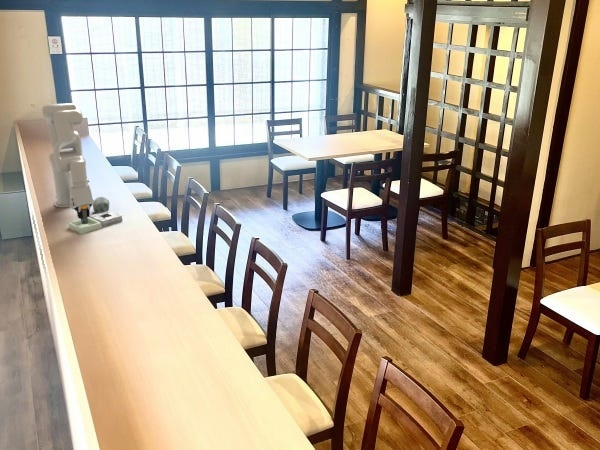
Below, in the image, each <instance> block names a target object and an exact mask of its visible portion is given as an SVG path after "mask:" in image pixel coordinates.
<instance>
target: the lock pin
mask: <svg viewBox="0 0 600 450" xmlns="http://www.w3.org/2000/svg"><path fill="white" fill-rule="evenodd" d="M80 207H81V212H82V218H83V219H81V224H88V216H87V208H88V206H87V205H83V206H80Z"/></svg>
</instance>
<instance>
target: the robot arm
mask: <svg viewBox="0 0 600 450" xmlns="http://www.w3.org/2000/svg"><path fill="white" fill-rule="evenodd" d="M41 111H42V116H43V118H44V120H45V122H46V123H47V127H48V135H49V143H50V146H51V148H52V149H53V152H51V153H50V154H49V157H48V158H49V162H50V163H49V164H50V166H51V168H52V174H53V175H52V176H53V182H54V188H55V195H56V196H55V198H56V201H55V202H54V206H55V207H57V208H63V209H64V208H65V209H66V208H70V209H71V210H74V211H75V212H76V216H77V218H78V220H80V219H83V218H82V212H81V207H80V206H83V205H87V206H88V208H87V216H88V217H90V216H91V211H90V210H91V207H93V204H94V203H95V199H93V194H92V190H91V186H90V184H89V183H90V179H88V176H87V175H88V173H87V167H86V166H87V162H86V159H85V158H84V155H83V148H82V147H83V145H82V139H81V136H80V133H78V131H76V130H75V129H74V127H76V126H77V127H78V126H82V125H83V124H84V117H83V114H82V112H81V110H80V108H79V107H78V106H77V104H76V103H71V102H70V103H69V102H67V103H52V104H44V105H43V106H42V109H41ZM66 149H67V150H66Z"/></svg>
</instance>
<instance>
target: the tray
mask: <svg viewBox="0 0 600 450" xmlns="http://www.w3.org/2000/svg"><path fill="white" fill-rule="evenodd" d="M67 226H68V229H70V230H72V231H74V232H76V233H78V234H80V235H81V234H82V235H83V234H85V233H88V232H93V231H95V230H98V229H102V228H103V227H102V224H101V222H99V221H96V220H94V219H92V218H90V217H88V224H81V219H78V220H73V221H71V222H68V223H67Z"/></svg>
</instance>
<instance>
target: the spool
mask: <svg viewBox="0 0 600 450" xmlns="http://www.w3.org/2000/svg"><path fill="white" fill-rule="evenodd" d="M94 201H95V203H94V204H93V205H92V210H93V211H94V212H95V214H98V213H102V212H105V211H109V210H110V200H109V199H108V198H107V197H105V196H98V197H96V198H95V199H94Z"/></svg>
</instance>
